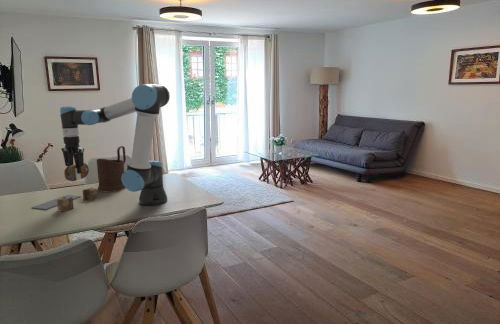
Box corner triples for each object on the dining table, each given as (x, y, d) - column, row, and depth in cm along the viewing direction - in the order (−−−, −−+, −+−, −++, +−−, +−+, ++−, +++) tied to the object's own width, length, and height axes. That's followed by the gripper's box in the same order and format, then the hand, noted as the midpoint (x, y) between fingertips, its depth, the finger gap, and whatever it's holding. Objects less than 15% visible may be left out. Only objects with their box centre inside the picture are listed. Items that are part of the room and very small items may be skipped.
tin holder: (97, 198, 208) (96, 188, 207) (66, 211, 187) (64, 200, 186) (90, 197, 210) (88, 187, 209) (57, 210, 189) (56, 199, 188)
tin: (68, 182, 189) (67, 167, 187) (63, 182, 190) (62, 166, 188) (89, 176, 203) (88, 161, 201) (85, 175, 204) (84, 161, 202)
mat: (80, 197, 212) (80, 196, 212) (46, 210, 189) (46, 208, 189) (67, 195, 215) (67, 194, 215) (31, 208, 193) (31, 207, 192)
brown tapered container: (90, 190, 225) (86, 151, 220) (115, 181, 248) (111, 145, 243) (115, 192, 220) (112, 152, 215) (138, 183, 242) (135, 146, 237)
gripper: (53, 136, 190) (59, 179, 195) (77, 137, 185) (82, 181, 190) (65, 134, 197) (70, 176, 202) (88, 135, 192) (92, 178, 197)
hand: (76, 179), depth 196 cm, fingers closed on tin, 3 cm apart
